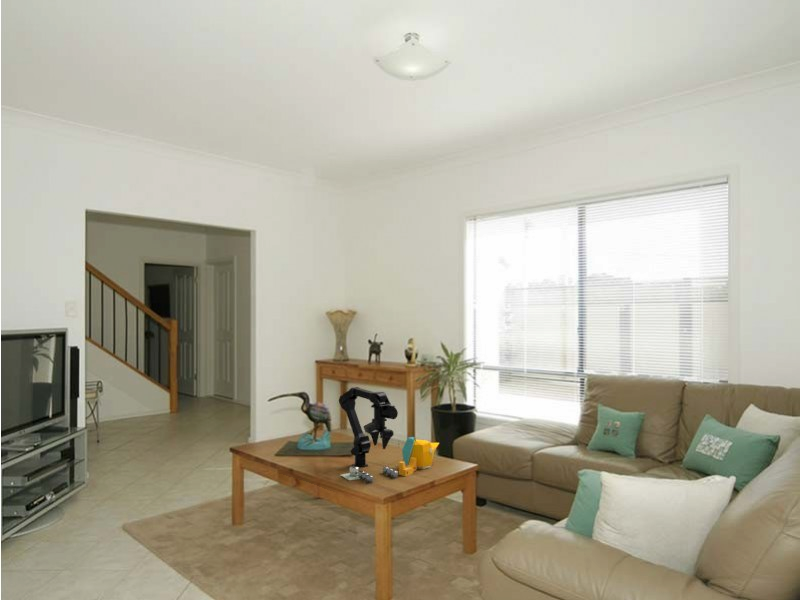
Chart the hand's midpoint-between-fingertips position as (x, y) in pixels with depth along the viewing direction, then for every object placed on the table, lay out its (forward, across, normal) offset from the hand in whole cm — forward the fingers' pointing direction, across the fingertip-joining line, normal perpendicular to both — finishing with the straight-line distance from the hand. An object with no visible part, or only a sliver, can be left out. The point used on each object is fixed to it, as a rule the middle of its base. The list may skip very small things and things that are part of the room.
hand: (379, 447), depth 288 cm
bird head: (+12, +3, +24) cm, 27 cm away
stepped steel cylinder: (+12, +2, -16) cm, 20 cm away
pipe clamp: (+12, +11, +11) cm, 20 cm away
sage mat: (+12, +2, -16) cm, 20 cm away
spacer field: (+12, +10, -7) cm, 17 cm away
